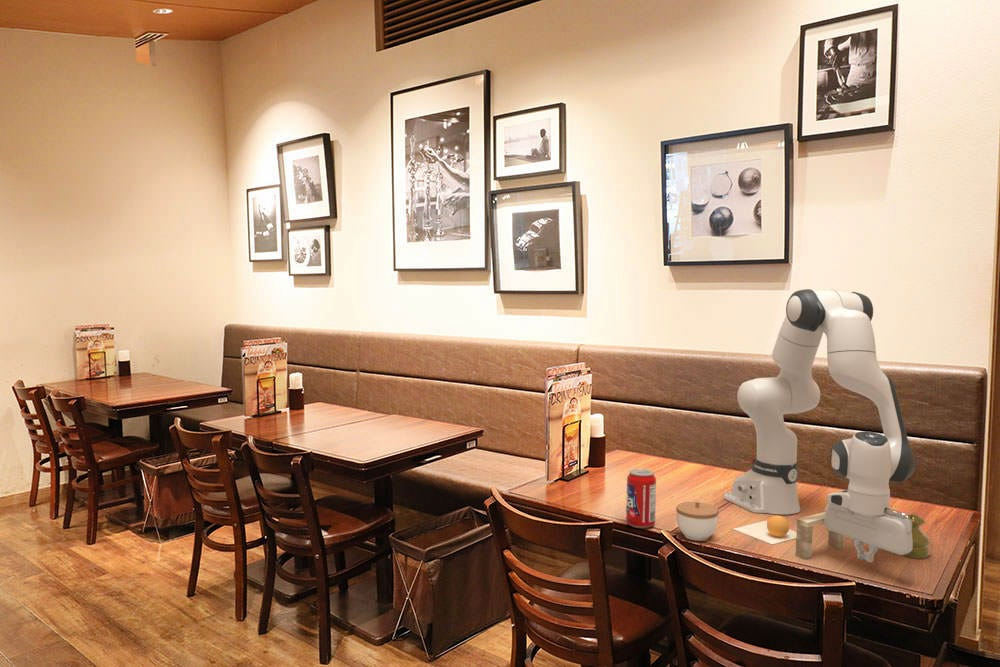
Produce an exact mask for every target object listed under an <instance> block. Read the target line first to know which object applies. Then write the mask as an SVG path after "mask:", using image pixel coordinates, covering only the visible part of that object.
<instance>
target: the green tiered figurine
mask: <svg viewBox="0 0 1000 667" xmlns="http://www.w3.org/2000/svg"><path fill="white" fill-rule="evenodd" d="M906 516H908V517H909V518H910V519H911V521H912V540H913V549H912V551H911V552H909V553H908V554H905V555H901V557H905V558H908V559H915V560H923V559H927V558H928V557H929V554H930V547H929V545H930V541H931V540H930V538H929V537H928V536H927V535H926V534H925V533H924V532H922V530H921V529H920V527H921V526H922V525H924V524H925V522H926V520H925V519H924V518H923V517H921V516H919V515H918V514H916V513H909V514H906ZM906 519H907V518H906Z"/></svg>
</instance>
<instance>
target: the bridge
mask: <svg viewBox="0 0 1000 667" xmlns="http://www.w3.org/2000/svg"><path fill="white" fill-rule="evenodd" d="M824 516H825V511H824V512H820V513H815V514H811V515H807V516H803V517H800V518H797V519H796V532H797V533H796V539H795V556H796V557H798V558H801V559H802V560H807V561H808V560H810V559H812V556H813V555H812V554H813V532H814V529H813V527H815V526H818V525H823V524H824ZM827 531H828V535H827V547H829V548H832V549H835V550H837V551H839V550H844V545H845V536H844V535H841V534H838V533H835V532H832V531H829V530H827Z"/></svg>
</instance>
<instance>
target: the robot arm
mask: <svg viewBox="0 0 1000 667" xmlns="http://www.w3.org/2000/svg"><path fill="white" fill-rule="evenodd" d="M785 313H786V314H785V317H784V320H783V322H782V324H781V326H780V329H779V332H778V334H777V338H776V341H775V345H774V346H773V349H772V354H771V356H772V359H773V362H774V363H775V365H777V366H778V368H779V369H780V371H779V374H778V375H777V376H776V377H775V376H773V377H771V376H770V377H757V378H753V379H750V380H747V381H744V382H742V383H741V384H740V385H739V388H738V390H737V394H736V397H737V403H738V405H739V407H740V409H741V410H742V411H743V412H744V413H745V414H747V416H748V417H749V418H750V420H751V421H752V424H753V426H754V429H755V434H756V457H755V458H753V459H748V461H749V462H748V464H752V465H751V468H750V469H748V471H746V472H744V473H742V474H741V475H739V476H737V477H736V478H735V479H734V481H733V483H732V487H731V490H730V491H728V492H726V493H724V495H723V499H724V500H727V501H729V502H730V503H733V504H734V505H736V506H739V507H741V508H743V509H745V510H748V511H750V512H752V513H758V514H771V515H794V514H797V513H800V512H801V506H800V502H799V501H800V500H799V496H798V495H799V494H798V486H797V480H798V479H797V478H798V474H799V473H798V472H799V463H798V461H797V456H798V437H797V434H795V432H794V431H793V430H792V429H790V428H788V427H787V426H786V423H785V420H784V419H785V418H784V415H793V414H802V413H805V412H809V411H811V410H813V409H815V408H817V406H818V405H819V403H820V401H821V390H820V387H819V385H818V384H817V382H816V381H815V380H814V379H813V373H812V372H813V370H812V369H813V365H814V362H815V358H816V355H817V353H818V349H819V347H820V344H821V340H822V338H823V334H825V336H826V339H827V340H826V345H827V346H826V358H827V369H828V372H829V375H830V377H831V379H832V380H833V381H834V382H835V383H837V385H839V386H840V387H843V389H846V390H848V391H851V392H854V393H856V394H859V395H861V396H864V397H866V398H867V399H869V400H870V401H871V402H873V404H875V406H876V407H877V410H878V413H879V418H880V419H879V420H880V423H881V427H882V432H883V434H881V433H878V432H875V431H859V432H856V433H854V434H853V435H852V437H851V438H846V439H839V440H838V441H837V442H836V443H834V444H833V445H832V447H831V449H830V458H829V460H830V462H829V463H830V468H831V470H832V471H833V472H834V473H835V474H836V475H837V476H839V477H840V478H843V479H848V481H849V482H848V485H847V486H848V487H847V490H840V491H834V492H831V493H829V494H827V498H826V499H827V505H825V509H824V512H825V516H824V523H823V524H824V527H825V528H826V530H827V531H832V532H835V533H838V534H841V535H844V537H847V538H850V539H852V540H853V542H852V543H853V545H854V547H855V550H856V552H857V559H859V560H862V561H863V562H867V563H869V564H870V563H872V562H874V555H875V554H876V553H877V551H879V549H881V550H885V551H887V552H889V553H894V554H896V555H900V556H902V555H905V554H908V553H909V552H911V551H912V549H913V540H912V521H911V519H910V518H909V517H908V516H906V515H907V514H906V513H904V512H902V511H897V510H894V509H891V508H890V501H891V490H890V486H889V485H890V484H889V483H898V484H900V483H903V482H905V481H906V480H908V479H909V478H910V477H911V476H912V475H913V473H914V472H915V470H916V459H915V455H914V451H913V449H912V447H911V444H910V442H909V439H908V434H907V431H906V426H905V422H904V418H903V414H902V410H901V405H900V402H899V401H900V400H899V398H898V394H897V391H896V387H895V385H894V382H893V379H892V377H890V376H889V375H887V374H885V373H884V371H883V370H882V368H881V367H880V365H879V362H878V359H877V348H876V347H877V346H876V340H875V339H876V338H875V334H874V329H873V325H872V319H873V316H874V307H873V303H872V300H871V299H870V298H869V297H868V296H867V295H866V294H863V293H860V292H856V291H846V290H839V289H810V288H808V289H807V288H806V289H799V290H796V291H794V292H793V293H792V294H791V295H790V297H789V298H788V300H787V302H786V307H785ZM906 518H907V519H906ZM863 544H867V548H868V549H869V550H868V551H866V550H865V548H864V545H863Z"/></svg>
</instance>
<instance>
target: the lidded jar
mask: <svg viewBox="0 0 1000 667" xmlns="http://www.w3.org/2000/svg"><path fill="white" fill-rule="evenodd" d="M675 509H676V510H675V511H676V522H677V526H678V528H679V530H680V532H681V533H682V535H684V537H685V538H686V539H688V540H692V541H694V542H695V541H697V542H702V541H707V540H709V538H710V537H711V536H712V535H713V534H714V533H715V532H716V529H717V526H718V522H719V508H718V507H716V506H715V505H713V504H709V503H706V502H700V501H697V500H696V501H685V502H681V503H678V504H677V505H676V508H675Z"/></svg>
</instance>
